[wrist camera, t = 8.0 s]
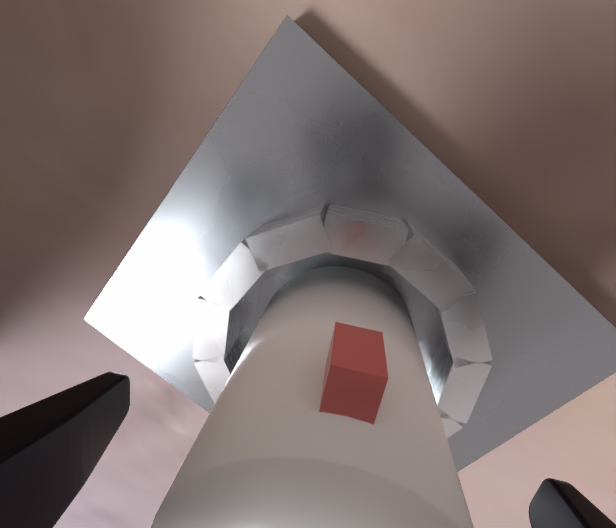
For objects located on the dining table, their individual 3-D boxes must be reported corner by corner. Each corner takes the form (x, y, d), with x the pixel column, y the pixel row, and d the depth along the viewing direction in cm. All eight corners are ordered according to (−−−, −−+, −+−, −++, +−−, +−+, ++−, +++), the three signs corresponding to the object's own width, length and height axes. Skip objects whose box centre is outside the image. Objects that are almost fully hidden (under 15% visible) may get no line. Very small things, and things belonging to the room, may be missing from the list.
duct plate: (629, 343, 11) (687, 387, 9) (365, 515, 15) (366, 571, 13) (291, 22, 9) (274, -9, 7) (95, 311, 13) (50, 341, 11)
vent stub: (391, 411, 12) (428, 714, 6) (254, 379, 13) (147, 632, 6) (441, 260, 10) (583, 467, 4) (277, 226, 11) (152, 365, 4)
